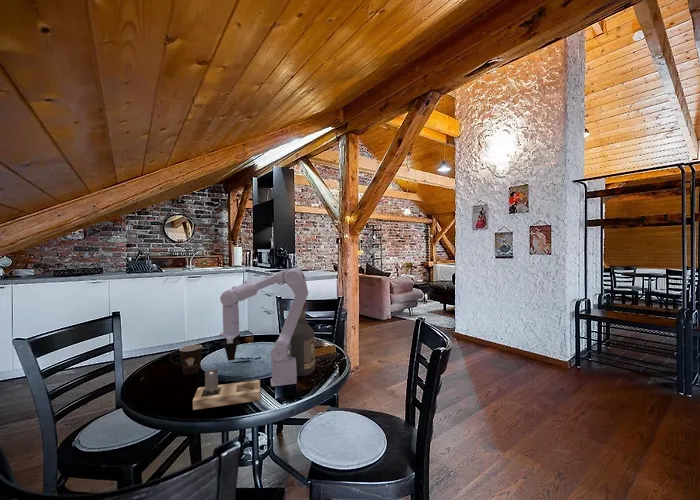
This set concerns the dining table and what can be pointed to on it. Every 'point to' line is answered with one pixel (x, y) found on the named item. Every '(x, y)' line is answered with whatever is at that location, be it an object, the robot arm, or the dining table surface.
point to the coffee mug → (189, 358)
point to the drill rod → (211, 382)
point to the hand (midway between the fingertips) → (232, 356)
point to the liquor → (303, 346)
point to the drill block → (228, 395)
